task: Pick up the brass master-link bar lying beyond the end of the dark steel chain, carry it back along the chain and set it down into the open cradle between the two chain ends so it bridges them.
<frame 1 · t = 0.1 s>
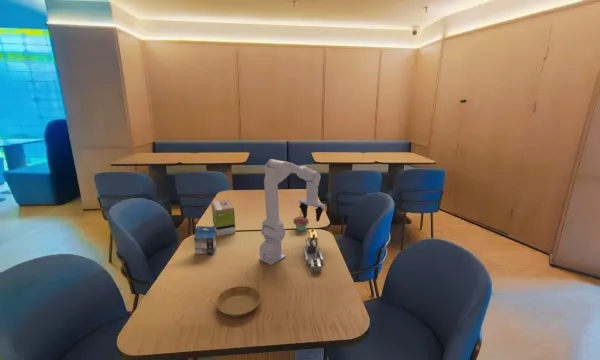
hand: (311, 219, 144), 10 cm above the table, fingers open, 7 cm apart
plant saucer: (239, 306, 96), on the table
tea box: (224, 229, 155), on the table
chain: (313, 258, 126), on the table
brass link: (313, 240, 143), on the table
cupcake: (300, 229, 156), on the table
blue and white carton: (205, 253, 130), on the table
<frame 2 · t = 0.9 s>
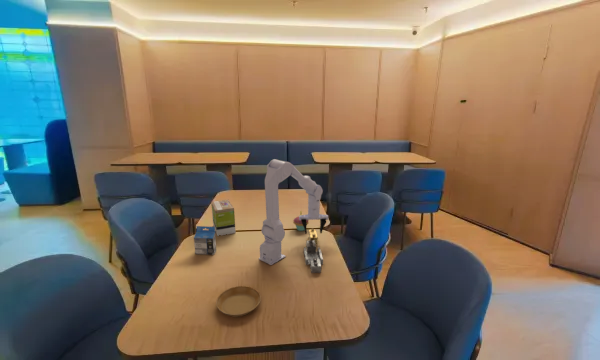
hand: (313, 232, 142), 4 cm above the table, fingers open, 7 cm apart
nothing on the table moved.
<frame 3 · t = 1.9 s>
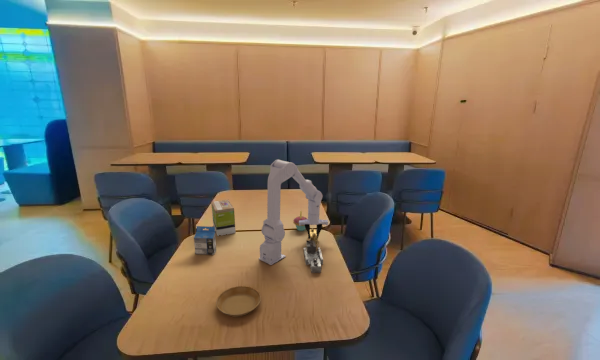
hand: (313, 237, 143), 1 cm above the table, fingers closed on brass link, 3 cm apart
brass link: (313, 240, 143), on the table, touching gripper
everything else where it was.
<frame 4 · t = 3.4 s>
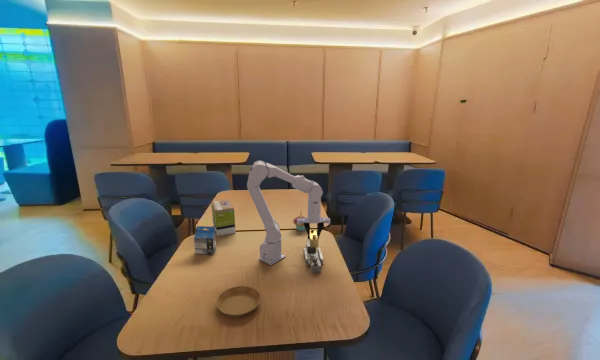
hand: (313, 238, 127), 8 cm above the table, fingers closed on brass link, 3 cm apart
brass link: (312, 242, 128), point 6 cm above the table, touching gripper
everything else where it was.
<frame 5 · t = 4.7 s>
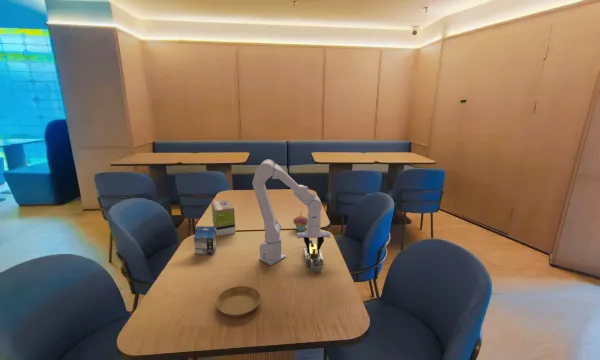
hand: (313, 252, 125), 3 cm above the table, fingers closed on brass link, 3 cm apart
brass link: (312, 256, 126), resting on chain, touching gripper
everything else where it was.
when the fingers open (3 cm above the table, at t = 5.0 s): brass link stays where it is, resting on chain.
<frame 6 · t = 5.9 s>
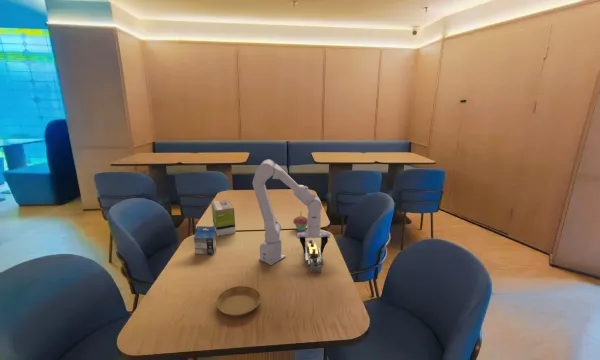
hand: (313, 252, 125), 3 cm above the table, fingers open, 7 cm apart
brass link: (312, 256, 126), resting on chain
everything else where it was.
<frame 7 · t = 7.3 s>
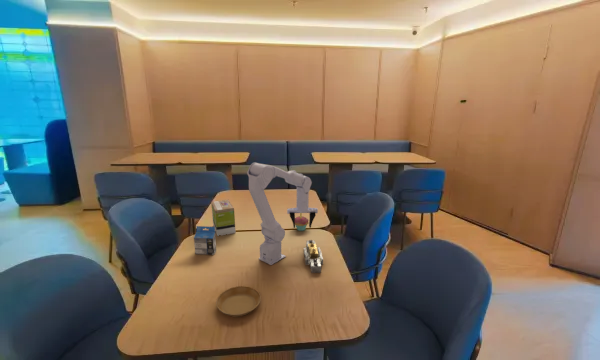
hand: (302, 226, 136), 9 cm above the table, fingers open, 7 cm apart
nothing on the table moved.
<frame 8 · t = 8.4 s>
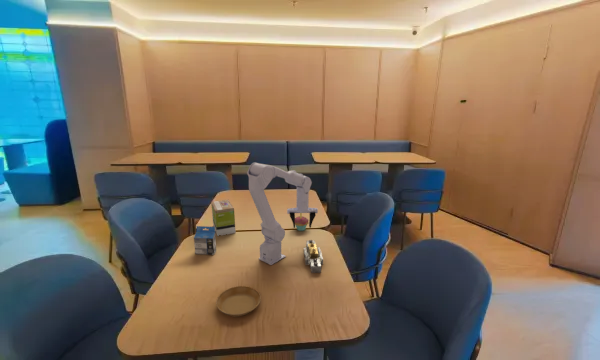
hand: (302, 226, 136), 9 cm above the table, fingers open, 7 cm apart
nothing on the table moved.
at the end: brass link 0.7 cm off-centre on the chain, point 0.5 cm above the chain's base; brass link tilted 0°; the gripper is holding nothing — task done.
